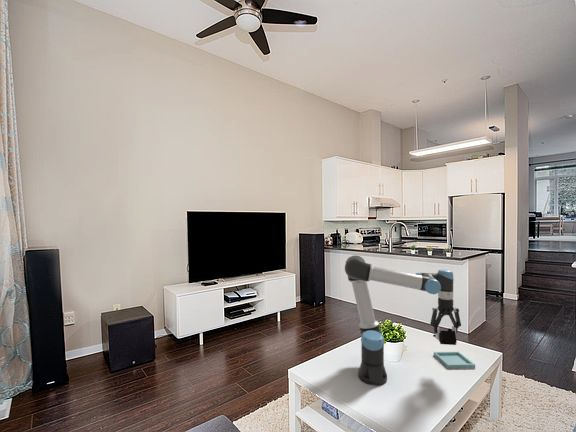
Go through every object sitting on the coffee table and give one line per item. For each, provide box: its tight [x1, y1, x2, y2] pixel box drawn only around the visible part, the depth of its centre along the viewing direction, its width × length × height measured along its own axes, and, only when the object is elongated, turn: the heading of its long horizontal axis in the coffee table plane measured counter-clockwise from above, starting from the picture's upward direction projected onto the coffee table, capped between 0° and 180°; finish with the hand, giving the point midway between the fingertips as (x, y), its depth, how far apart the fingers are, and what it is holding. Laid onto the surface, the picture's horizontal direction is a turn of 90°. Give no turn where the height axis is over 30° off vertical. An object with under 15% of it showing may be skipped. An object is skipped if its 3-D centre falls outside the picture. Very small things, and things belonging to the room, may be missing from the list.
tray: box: [433, 351, 476, 369], centre depth 180 cm, size 16×16×2 cm
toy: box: [432, 328, 458, 346], centre depth 168 cm, size 9×8×15 cm
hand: (445, 338), depth 166 cm, fingers closed on toy, 9 cm apart
